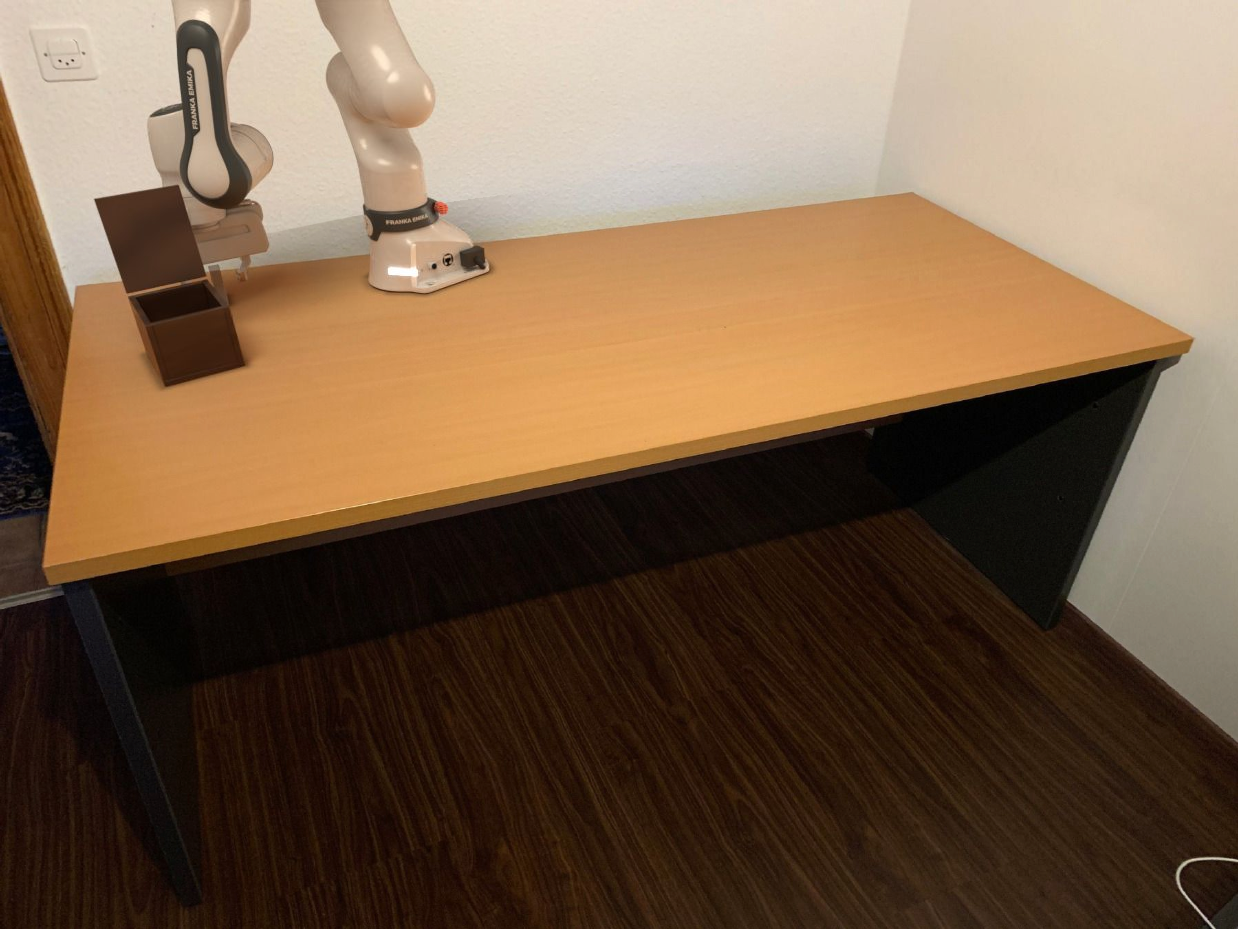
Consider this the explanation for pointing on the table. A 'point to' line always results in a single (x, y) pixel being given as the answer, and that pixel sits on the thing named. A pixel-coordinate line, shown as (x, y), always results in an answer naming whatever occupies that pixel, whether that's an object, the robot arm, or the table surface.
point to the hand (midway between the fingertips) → (216, 286)
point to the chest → (187, 331)
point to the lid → (151, 238)
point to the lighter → (218, 281)
